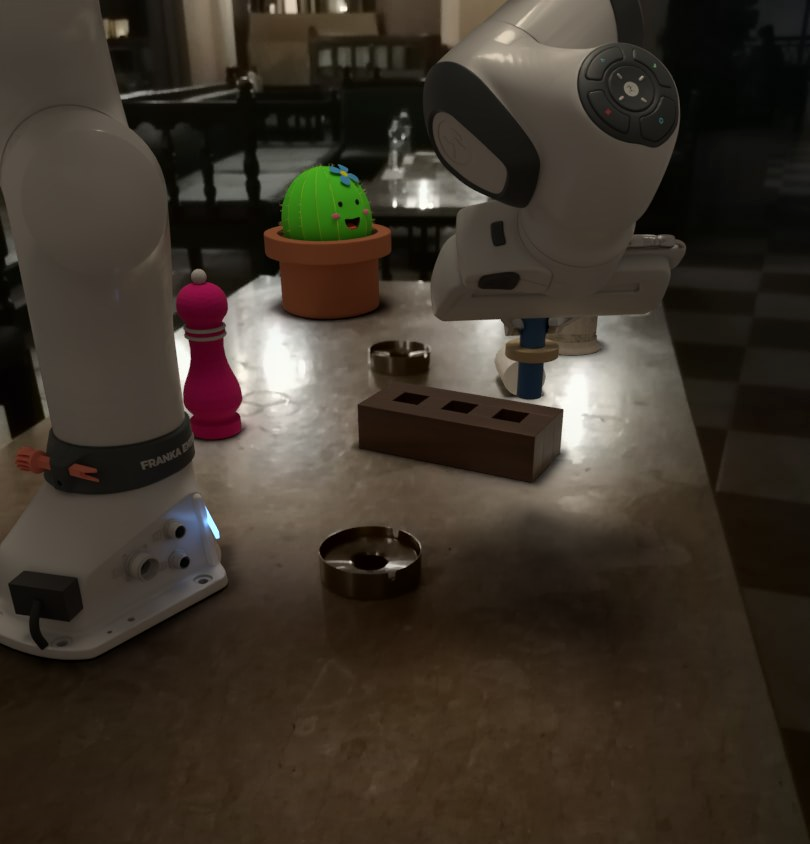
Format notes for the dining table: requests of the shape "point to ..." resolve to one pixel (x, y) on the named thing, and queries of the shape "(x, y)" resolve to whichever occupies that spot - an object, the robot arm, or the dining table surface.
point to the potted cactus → (328, 246)
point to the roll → (509, 371)
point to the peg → (531, 357)
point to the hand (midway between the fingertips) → (531, 328)
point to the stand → (461, 430)
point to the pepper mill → (208, 361)
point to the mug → (578, 337)
